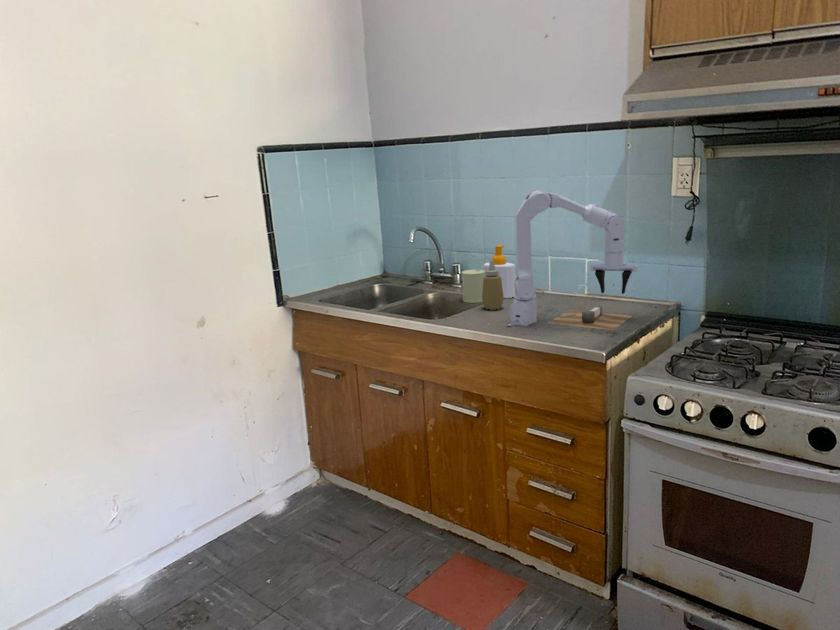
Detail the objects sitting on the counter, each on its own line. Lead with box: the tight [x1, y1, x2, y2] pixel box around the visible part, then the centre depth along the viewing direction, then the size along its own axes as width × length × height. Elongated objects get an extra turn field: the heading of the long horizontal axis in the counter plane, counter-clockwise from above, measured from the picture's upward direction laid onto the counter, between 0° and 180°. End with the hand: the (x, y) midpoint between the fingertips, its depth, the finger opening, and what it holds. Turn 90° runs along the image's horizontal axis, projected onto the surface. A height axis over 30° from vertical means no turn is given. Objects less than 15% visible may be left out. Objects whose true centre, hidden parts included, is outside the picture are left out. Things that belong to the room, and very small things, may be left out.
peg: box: [582, 305, 603, 323], centre depth 207 cm, size 13×4×3 cm, turn 145°
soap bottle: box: [483, 244, 516, 299], centre depth 250 cm, size 13×8×20 cm, turn 57°
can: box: [461, 269, 485, 304], centre depth 247 cm, size 9×9×12 cm
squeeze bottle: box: [482, 259, 505, 311], centre depth 231 cm, size 8×8×18 cm
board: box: [547, 309, 633, 331], centre depth 207 cm, size 19×22×1 cm
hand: (613, 292), depth 206 cm, fingers open, 6 cm apart
